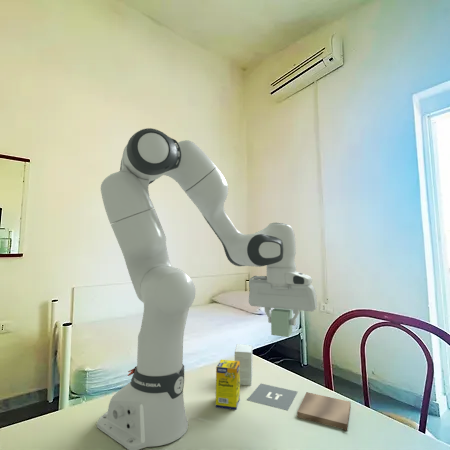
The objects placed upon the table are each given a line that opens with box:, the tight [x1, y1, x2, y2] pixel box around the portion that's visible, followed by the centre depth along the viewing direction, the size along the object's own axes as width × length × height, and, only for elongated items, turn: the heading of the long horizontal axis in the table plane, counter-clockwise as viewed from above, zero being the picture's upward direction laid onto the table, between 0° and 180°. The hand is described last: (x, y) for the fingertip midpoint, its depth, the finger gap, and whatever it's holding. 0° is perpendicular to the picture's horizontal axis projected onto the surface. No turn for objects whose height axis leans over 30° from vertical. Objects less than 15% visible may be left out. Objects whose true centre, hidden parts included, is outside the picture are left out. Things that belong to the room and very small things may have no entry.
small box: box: [234, 343, 253, 386], centre depth 99 cm, size 8×6×10 cm
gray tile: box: [246, 383, 299, 411], centre depth 88 cm, size 12×12×1 cm
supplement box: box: [215, 359, 241, 411], centre depth 84 cm, size 6×6×11 cm
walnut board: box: [296, 392, 352, 431], centre depth 79 cm, size 12×12×2 cm
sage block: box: [270, 308, 293, 338], centre depth 88 cm, size 5×5×7 cm
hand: (281, 323), depth 88 cm, fingers closed on sage block, 5 cm apart
